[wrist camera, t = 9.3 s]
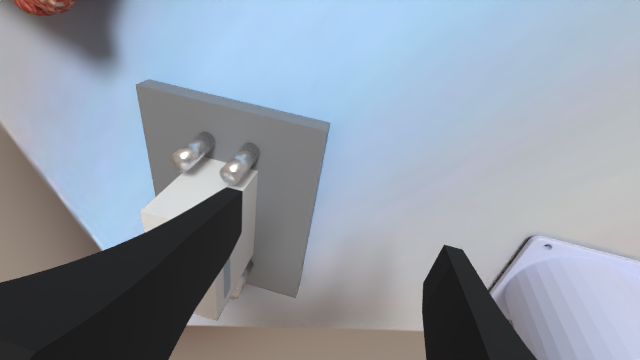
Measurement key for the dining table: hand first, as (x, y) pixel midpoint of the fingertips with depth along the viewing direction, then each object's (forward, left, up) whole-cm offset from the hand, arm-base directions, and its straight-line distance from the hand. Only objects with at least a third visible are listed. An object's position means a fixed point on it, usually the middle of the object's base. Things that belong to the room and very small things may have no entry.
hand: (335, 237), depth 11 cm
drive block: (+8, +8, -8) cm, 14 cm away
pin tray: (+8, +8, -9) cm, 15 cm away
